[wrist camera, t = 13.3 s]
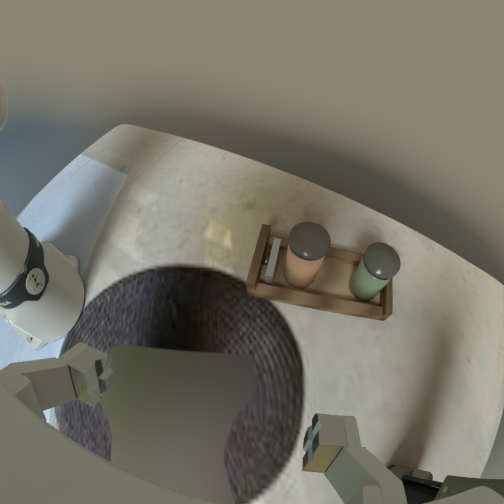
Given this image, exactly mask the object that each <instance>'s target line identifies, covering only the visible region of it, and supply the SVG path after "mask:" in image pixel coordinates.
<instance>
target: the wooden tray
mask: <svg viewBox="0 0 504 504" xmlns="http://www.w3.org/2000/svg"><path fill="white" fill-rule="evenodd" d="M274 238H278V239H281V243H280V250H279V255H278V260H277V264H276V269H275V273H274V277H273V282H272V286H270V285H265V275H266V271H267V266H268V265H263V259H264V256H265V257H270V254H271V250H272V246H273V242H274ZM288 240H289V239H285V238H280V237H275V236H270V225H265V224H262V228H261V231H260V235H259V238H258V242H257V245H256V249H255V252H254V256H253V260H252V263H251V267H250V270H249V274H248V277H247V281H246V291H247V295H250V296H255V297H259V298H264V299H269V300H274V301H278V302H283V303H288V304H293V305H298V306H303V307H308V308H314V309H319V310H324V311H330V312H335V313H341V314H347V315H352V316H358V317H364V318H370V319H376V320H383V321H384V320H385V319H386V318H388V317H389V316H390V315H391V314H392V299H393V296H392V278H391V279H390V281H389V282H388V283H387V284H386V285H385V286H384V288H383V289H382V290H381V291H380V292H379V293H378V294H377V296H376V297H375V298H374V299H372V300H370V301H361V300H359V299H357V298H355V297H354V296H353V295H352V293H351V291H350V289H349V280H350V278H351V276H352V275H353V273H354V271H355V270H356V268H357V267H358V265H359V263H360V262H361V260H362V258H363V257H364V255H363V254H359V253H354V252H349V251H344V250H340V249H335V248H330V247H329V249H328V251H327V253H326V255H325V257H324V259H323V262H322V264H321V267H320V269H319V272H318V274H317V276H316V279H315V281H314V283H313V284H312V285H311V286H309V287H307V288H304V289H298V288H294V287H292V286H290V285H289V284H288V283H287V282H286V281H285V279H284V276H283V270H284V265H285V260H286V254H287V249H288Z"/></svg>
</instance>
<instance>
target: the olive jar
mask: <svg viewBox="0 0 504 504" xmlns="http://www.w3.org/2000/svg"><path fill="white" fill-rule="evenodd" d="M399 269H400V258H399V256H398V254H397V252H396V251H395V250H394V249H393V248H392V247H391V246H389V245H387V244H385V243H379V242H378V243H373V244H371V245H370V246H369V247H368V248H367V250H366V252H365V254H364V257H363V258H362V260H361V262H360V263H359V265H358V267H357V268H356V270H355V271H354V273H353V275H352V276H351V278H350V280H349V289H350V291H351V293H352V295H353V296H354V297H355V298H357V299H359V300H361V301H370V300H372V299H374V298H375V297H376V296H377V294H378V293H379V292H380V291H381V290H382V289H383V288H384V286H385V285H386V284H387V283H388V282H389V281H390V279H391V278H393V277H394V276H395V275H396V273H397V272H398V271H399Z"/></svg>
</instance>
